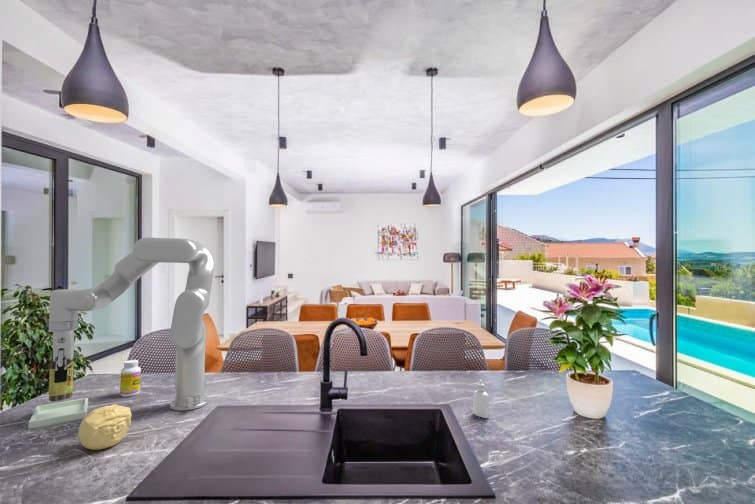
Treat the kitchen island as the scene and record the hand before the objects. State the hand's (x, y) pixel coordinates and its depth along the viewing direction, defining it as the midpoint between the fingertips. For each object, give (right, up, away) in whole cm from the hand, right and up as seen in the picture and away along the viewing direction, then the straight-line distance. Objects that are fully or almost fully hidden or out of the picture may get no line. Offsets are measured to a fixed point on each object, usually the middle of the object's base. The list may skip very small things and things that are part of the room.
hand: (61, 378), depth 126 cm
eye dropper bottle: (+142, -13, +1) cm, 143 cm away
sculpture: (+29, -12, -20) cm, 37 cm away
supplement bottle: (+10, -13, +20) cm, 26 cm away
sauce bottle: (0, -7, 0) cm, 7 cm away
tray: (0, -12, 0) cm, 12 cm away
